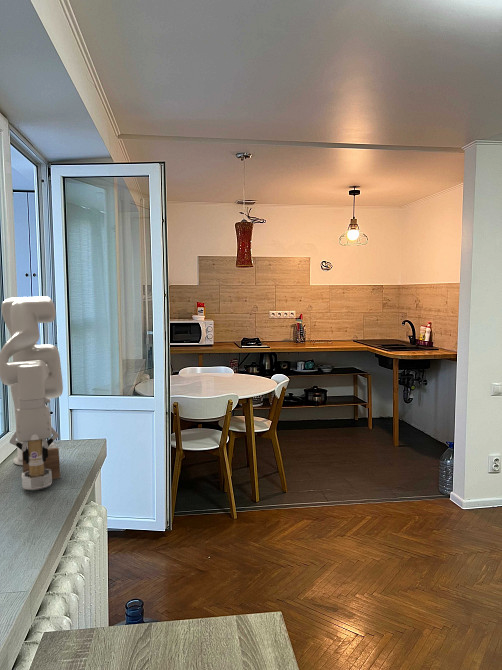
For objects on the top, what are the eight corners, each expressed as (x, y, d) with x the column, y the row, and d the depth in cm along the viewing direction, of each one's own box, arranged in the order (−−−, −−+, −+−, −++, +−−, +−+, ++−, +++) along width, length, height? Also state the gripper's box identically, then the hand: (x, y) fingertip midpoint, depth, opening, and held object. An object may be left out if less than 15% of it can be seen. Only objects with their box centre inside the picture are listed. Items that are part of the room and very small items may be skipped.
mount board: (60, 477, 174) (58, 448, 173) (24, 483, 170) (22, 453, 169) (59, 472, 179) (57, 443, 178) (24, 477, 175) (22, 448, 174)
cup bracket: (52, 487, 163) (51, 469, 162) (22, 492, 160) (21, 473, 159) (51, 476, 173) (50, 458, 172) (22, 480, 170) (21, 462, 169)
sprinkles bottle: (29, 478, 162) (26, 435, 160) (28, 473, 166) (26, 431, 164) (45, 475, 163) (42, 433, 162) (44, 470, 168) (41, 429, 166)
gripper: (60, 398, 169) (63, 454, 171) (2, 404, 163) (6, 461, 165) (61, 403, 162) (65, 460, 164) (1, 409, 156) (5, 469, 158)
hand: (36, 460), depth 164 cm, fingers closed on sprinkles bottle, 4 cm apart
